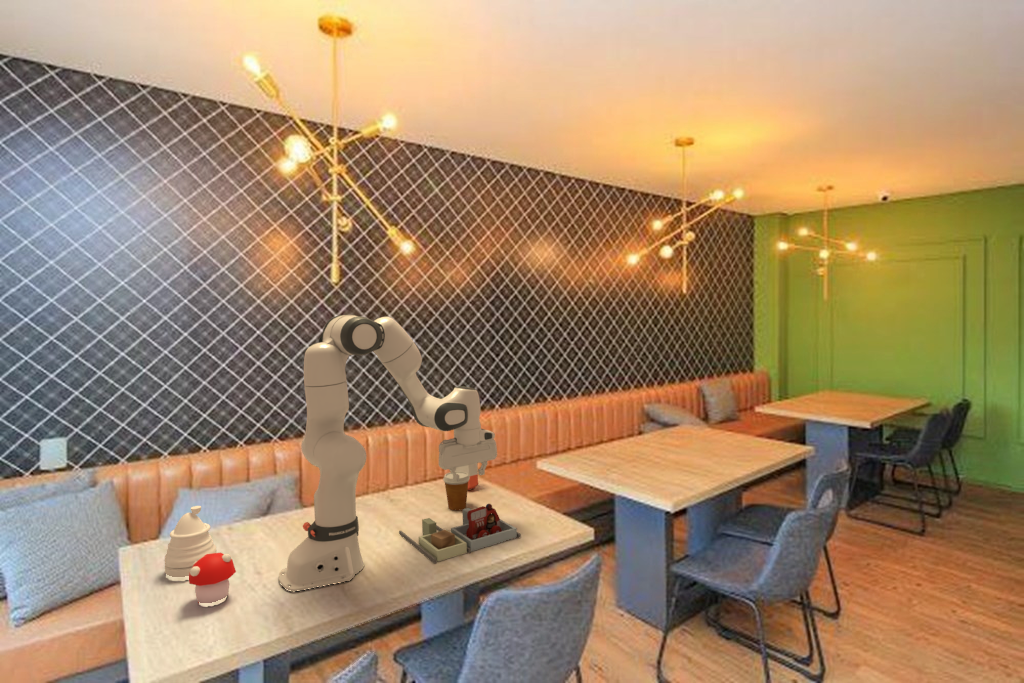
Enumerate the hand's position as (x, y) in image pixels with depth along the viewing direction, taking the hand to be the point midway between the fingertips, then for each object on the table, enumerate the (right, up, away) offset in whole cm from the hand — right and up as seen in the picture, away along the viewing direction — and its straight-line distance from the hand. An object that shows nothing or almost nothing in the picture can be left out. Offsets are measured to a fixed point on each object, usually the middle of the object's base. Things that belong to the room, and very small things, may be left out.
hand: (469, 477), depth 185 cm
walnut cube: (-7, -18, -15) cm, 25 cm away
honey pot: (-77, -21, -24) cm, 83 cm away
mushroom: (-62, -22, -41) cm, 77 cm away
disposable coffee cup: (-6, -16, +21) cm, 27 cm away
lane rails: (-3, -18, -5) cm, 18 cm away
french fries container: (-5, -15, +42) cm, 45 cm away
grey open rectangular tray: (+4, -17, -4) cm, 18 cm away
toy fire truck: (+5, -18, -7) cm, 20 cm away
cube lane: (-8, -18, -12) cm, 23 cm away
